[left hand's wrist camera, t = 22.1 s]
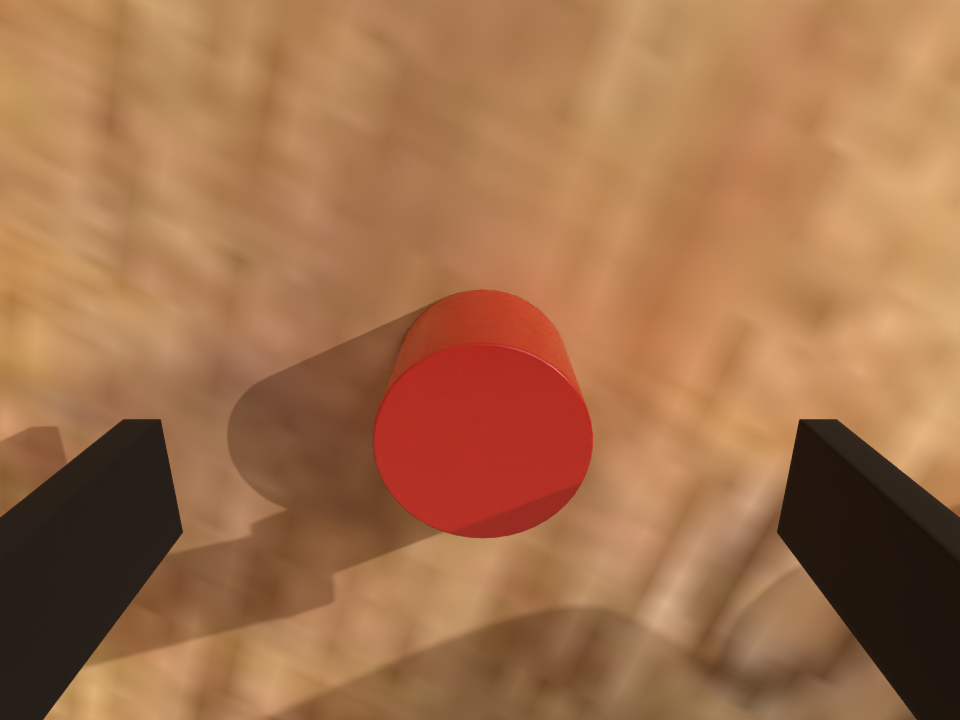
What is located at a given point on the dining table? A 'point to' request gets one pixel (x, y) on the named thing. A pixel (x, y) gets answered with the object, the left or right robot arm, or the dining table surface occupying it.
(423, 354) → the tin
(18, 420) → the dining table surface
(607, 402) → the dining table surface
